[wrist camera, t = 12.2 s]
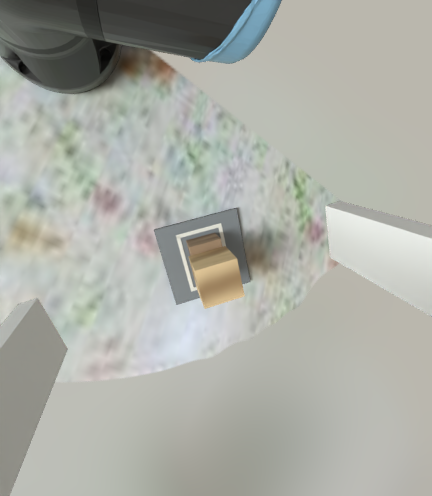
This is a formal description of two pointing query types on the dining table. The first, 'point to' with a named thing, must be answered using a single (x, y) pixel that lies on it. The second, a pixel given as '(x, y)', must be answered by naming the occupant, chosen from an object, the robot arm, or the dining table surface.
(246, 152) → the dining table surface
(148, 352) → the dining table surface
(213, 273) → the oak block
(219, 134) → the dining table surface
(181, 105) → the dining table surface
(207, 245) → the base block
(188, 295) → the mat
